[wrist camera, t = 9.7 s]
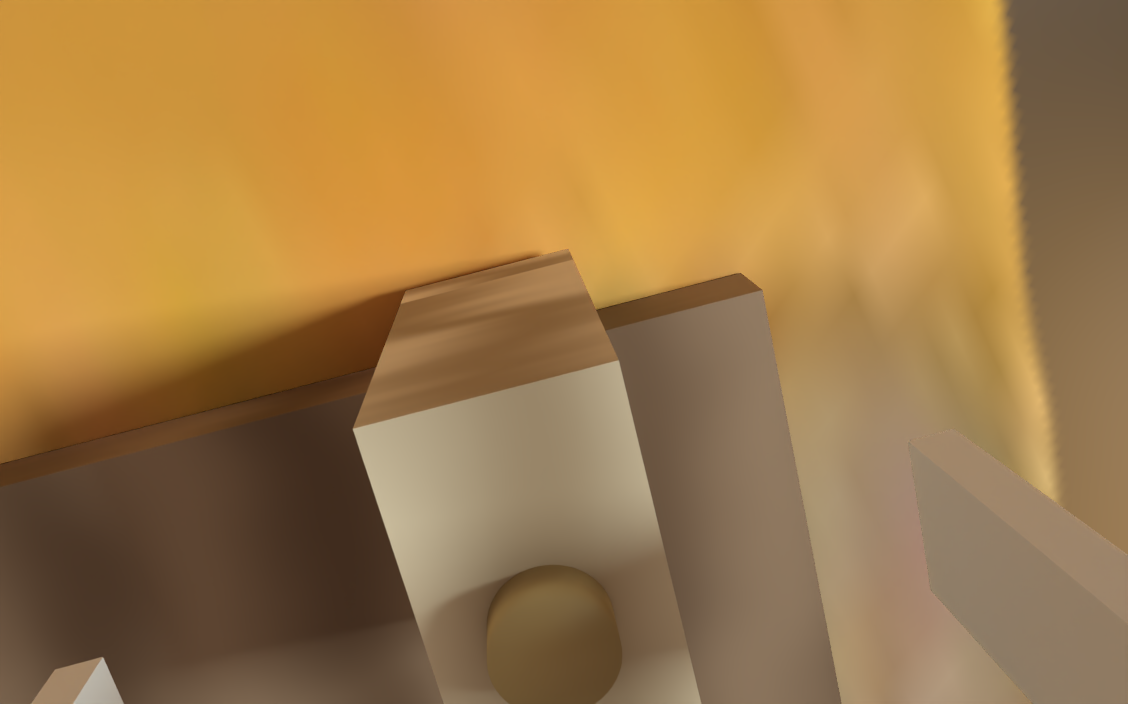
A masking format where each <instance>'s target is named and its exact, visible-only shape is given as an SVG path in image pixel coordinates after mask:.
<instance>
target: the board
mask: <svg viewBox="0 0 1128 704" xmlns="http://www.w3.org/2000/svg"><path fill="white" fill-rule="evenodd" d="M596 311H597V313H598V316H599V318H600V320H601V322H602V324H603V327H604V329H605V331H606V333H607V335H608V338H609V340H610V342H611V344H612V346H613V349H614V351H615V353H616V355H617V357H618V360H619V363H620V367H621V372H622V376H623V380H624V384H625V388H626V392H627V397H628V401H629V405H630V409H631V413H632V417H633V421H634V426H635V430H636V434H637V438H638V442H639V446H640V451H641V455H642V459H643V463H644V467H645V471H646V476H647V480H648V484H649V488H650V492H651V496H652V500H653V505H654V509H655V513H656V517H657V521H658V525H659V530H660V534H661V538H662V542H663V546H664V550H665V555H666V559H667V563H668V567H669V571H670V575H671V579H672V584H673V588H674V592H675V596H676V600H677V604H678V609H679V613H680V617H681V621H682V625H683V629H684V634H685V638H686V642H687V646H688V650H689V654H690V658H691V663H692V667H693V671H694V675H695V679H696V683H697V688H698V692H699V696H700V700H701V704H841V699H840V693H839V688H838V683H837V678H836V673H835V667H834V662H833V657H832V652H831V646H830V641H829V636H828V631H827V626H826V620H825V615H824V610H823V605H822V599H821V594H820V589H819V584H818V578H817V573H816V568H815V563H814V558H813V552H812V547H811V542H810V537H809V531H808V526H807V521H806V516H805V511H804V505H803V500H802V495H801V490H800V484H799V479H798V474H797V469H796V464H795V458H794V453H793V448H792V443H791V437H790V432H789V427H788V422H787V416H786V411H785V406H784V401H783V396H782V390H781V385H780V380H779V375H778V369H777V364H776V359H775V354H774V349H773V343H772V338H771V333H770V328H769V322H768V317H767V312H766V307H765V301H764V296H763V291H762V289H760V288H759V287H758V286H757V285H755V284H754V283H753V282H751V281H750V280H749V279H748V278H746V277H745V276H744V275H743V274H741V273H739V274H735V275H731V276H727V277H723V278H719V279H715V280H712V281H708V282H704V283H700V284H696V285H692V286H688V287H685V288H681V289H677V290H673V291H669V292H665V293H661V294H657V295H654V296H650V297H646V298H642V299H638V300H634V301H630V302H626V303H623V304H619V305H615V306H611V307H607V308H603V309H599V310H596ZM375 369H376V367H375V368H371V369H367V370H363V371H359V372H356V373H352V374H348V375H344V376H340V377H336V378H332V379H329V380H325V381H321V382H317V383H313V384H309V385H305V386H301V387H298V388H294V389H290V390H286V391H282V392H278V393H274V394H270V395H267V396H263V397H259V398H255V399H251V400H247V401H243V402H240V403H236V404H232V405H228V406H224V407H220V408H216V409H212V410H209V411H205V412H201V413H197V414H193V415H189V416H185V417H181V418H178V419H174V420H170V421H166V422H162V423H158V424H154V425H151V426H147V427H143V428H139V429H135V430H131V431H127V432H123V433H120V434H116V435H112V436H108V437H104V438H100V439H96V440H92V441H89V442H85V443H81V444H77V445H73V446H69V447H65V448H62V449H58V450H54V451H50V452H46V453H42V454H38V455H34V456H31V457H27V458H23V459H19V460H15V461H11V462H7V463H3V464H0V704H31V703H32V702H33V700H34V699H35V697H36V696H37V694H38V693H39V692H40V690H41V689H42V687H43V686H44V685H45V683H46V682H47V680H48V679H49V677H50V676H51V675H52V673H53V672H54V670H55V669H59V668H63V667H67V666H70V665H74V664H78V663H82V662H85V661H89V660H93V659H97V658H100V657H103V658H104V660H105V663H106V665H107V667H108V669H109V672H110V674H111V676H112V678H113V681H114V683H115V685H116V687H117V690H118V692H119V694H120V696H121V699H122V701H123V703H124V704H444V703H443V700H442V697H441V694H440V691H439V688H438V685H437V682H436V679H435V676H434V673H433V670H432V667H431V664H430V661H429V658H428V655H427V652H426V648H425V645H424V642H423V639H422V636H421V633H420V630H419V627H418V624H417V621H416V618H415V615H414V612H413V609H412V606H411V603H410V600H409V597H408V594H407V591H406V588H405V585H404V582H403V579H402V576H401V573H400V570H399V567H398V564H397V561H396V558H395V555H394V552H393V549H392V546H391V543H390V540H389V537H388V534H387V531H386V528H385V525H384V522H383V519H382V516H381V513H380V510H379V507H378V504H377V501H376V498H375V495H374V492H373V489H372V486H371V483H370V480H369V477H368V474H367V471H366V468H365V465H364V462H363V459H362V456H361V453H360V450H359V447H358V444H357V440H356V437H355V434H354V431H353V427H354V424H355V422H356V419H357V416H358V414H359V411H360V408H361V406H362V403H363V401H364V398H365V395H366V393H367V390H368V388H369V385H370V382H371V380H372V377H373V375H374V372H375Z"/></svg>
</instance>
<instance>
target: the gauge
mask: <svg viewBox="0 0 1128 704" xmlns="http://www.w3.org/2000/svg"><path fill="white" fill-rule="evenodd" d="M353 431H354V434H355V437H356V440H357V444H358V447H359V450H360V453H361V456H362V459H363V462H364V465H365V468H366V471H367V474H368V477H369V480H370V483H371V486H372V489H373V492H374V495H375V498H376V501H377V504H378V507H379V510H380V513H381V516H382V519H383V522H384V525H385V528H386V531H387V534H388V537H389V540H390V543H391V546H392V549H393V552H394V555H395V558H396V561H397V564H398V567H399V570H400V573H401V576H402V579H403V582H404V585H405V588H406V591H407V594H408V597H409V600H410V603H411V606H412V609H413V612H414V615H415V618H416V621H417V624H418V627H419V630H420V633H421V636H422V639H423V642H424V645H425V648H426V652H427V655H428V658H429V661H430V664H431V667H432V670H433V673H434V676H435V679H436V682H437V685H438V688H439V691H440V694H441V697H442V700H443V703H444V704H701V700H700V696H699V692H698V688H697V683H696V679H695V675H694V671H693V667H692V663H691V658H690V654H689V650H688V646H687V642H686V638H685V634H684V629H683V625H682V621H681V617H680V613H679V609H678V604H677V600H676V596H675V592H674V588H673V584H672V579H671V575H670V571H669V567H668V563H667V559H666V555H665V550H664V546H663V542H662V538H661V534H660V530H659V525H658V521H657V517H656V513H655V509H654V505H653V500H652V496H651V492H650V488H649V484H648V480H647V476H646V471H645V467H644V463H643V459H642V455H641V451H640V446H639V442H638V438H637V434H636V430H635V426H634V421H633V417H632V413H631V409H630V405H629V401H628V397H627V392H626V388H625V384H624V380H623V376H622V372H621V367H620V363H619V360H618V357H617V355H616V353H615V351H614V349H613V346H612V344H611V342H610V340H609V338H608V335H607V333H606V331H605V329H604V327H603V324H602V322H601V320H600V318H599V316H598V313H597V311H596V309H595V307H594V305H593V302H592V300H591V298H590V296H589V293H588V291H587V289H586V287H585V285H584V282H583V280H582V278H581V276H580V274H579V271H578V269H577V267H576V265H575V263H574V260H573V258H572V256H571V254H570V252H569V249H565V250H561V251H557V252H554V253H550V254H546V255H542V256H538V257H534V258H530V259H526V260H523V261H519V262H515V263H511V264H507V265H503V266H499V267H495V268H492V269H488V270H484V271H480V272H476V273H472V274H468V275H464V276H461V277H457V278H453V279H449V280H445V281H441V282H437V283H433V284H429V285H426V286H422V287H418V288H414V289H410V290H406V291H405V294H404V296H403V299H402V301H401V304H400V307H399V309H398V312H397V314H396V317H395V320H394V322H393V325H392V328H391V330H390V333H389V335H388V338H387V341H386V343H385V346H384V348H383V351H382V354H381V356H380V359H379V361H378V364H377V367H376V369H375V372H374V375H373V377H372V380H371V382H370V385H369V388H368V390H367V393H366V395H365V398H364V401H363V403H362V406H361V408H360V411H359V414H358V416H357V419H356V422H355V424H354V427H353Z"/></svg>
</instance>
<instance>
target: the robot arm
mask: <svg viewBox="0 0 1128 704" xmlns="http://www.w3.org/2000/svg"><path fill="white" fill-rule="evenodd" d="M908 445H909V452H910V458H911V465H912V471H913V478H914V484H915V491H916V497H917V504H918V510H919V517H920V523H921V530H922V536H923V543H924V549H925V556H926V562H927V569H928V575H929V582H930V588H931V591H932V592H933V593H934V594H935V595H936V596H937V597H938V599H939V600H940V601H941V602H942V603H943V604H944V605H945V606H946V607H947V609H948V610H949V611H950V612H951V613H952V614H953V615H954V616H955V617H956V619H957V620H958V621H959V622H960V623H961V624H962V625H963V626H964V628H965V629H966V630H967V631H968V632H969V633H970V634H971V635H972V636H973V638H974V639H975V640H976V641H977V642H978V643H979V644H980V645H981V646H982V648H983V649H984V650H985V651H986V652H987V653H988V654H989V655H990V656H991V658H992V659H993V660H994V661H995V662H996V663H997V664H998V665H999V666H1000V668H1001V669H1002V670H1003V671H1004V672H1005V673H1006V674H1007V675H1008V677H1009V678H1010V679H1011V680H1012V681H1013V682H1014V683H1015V684H1016V685H1017V687H1018V688H1019V689H1020V690H1021V691H1022V692H1023V693H1024V694H1025V695H1026V697H1027V698H1028V699H1029V700H1030V701H1031V702H1032V703H1033V704H1128V555H1127V554H1126V553H1124V552H1123V551H1122V550H1120V549H1119V548H1117V547H1116V546H1115V545H1113V544H1112V543H1111V542H1109V541H1108V540H1106V539H1105V538H1104V537H1102V536H1101V535H1100V534H1098V533H1097V532H1095V531H1094V530H1093V529H1091V528H1090V527H1089V526H1087V525H1086V524H1084V523H1083V522H1082V521H1080V520H1079V519H1078V518H1076V517H1075V516H1073V515H1072V514H1071V513H1069V512H1068V511H1067V510H1065V509H1064V508H1062V507H1061V506H1060V505H1058V504H1057V503H1056V502H1054V501H1053V500H1051V499H1050V498H1049V497H1047V496H1046V495H1045V494H1043V493H1042V492H1040V491H1039V490H1038V489H1036V488H1035V487H1034V486H1032V485H1031V484H1029V483H1028V482H1027V481H1025V480H1024V479H1022V478H1021V477H1020V476H1018V475H1017V474H1016V473H1014V472H1013V471H1011V470H1010V469H1009V468H1007V467H1006V466H1005V465H1003V464H1002V463H1000V462H999V461H998V460H996V459H995V458H994V457H992V456H991V455H989V454H988V453H987V452H985V451H984V450H983V449H981V448H980V447H978V446H977V445H976V444H974V443H973V442H972V441H970V440H969V439H967V438H966V437H965V436H963V435H962V434H961V433H959V432H958V431H956V430H955V429H951V430H948V431H944V432H940V433H936V434H933V435H929V436H925V437H922V438H918V439H914V440H910V441H908ZM31 704H124V703H123V701H122V699H121V696H120V694H119V692H118V690H117V687H116V685H115V683H114V681H113V678H112V676H111V674H110V672H109V669H108V667H107V665H106V663H105V660H104V658H103V657H100V658H97V659H93V660H89V661H85V662H82V663H78V664H74V665H70V666H67V667H63V668H59V669H55V670H54V672H53V673H52V675H51V676H50V677H49V679H48V680H47V682H46V683H45V685H44V686H43V687H42V689H41V690H40V692H39V693H38V694H37V696H36V697H35V699H34V700H33V702H32V703H31Z"/></svg>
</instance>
